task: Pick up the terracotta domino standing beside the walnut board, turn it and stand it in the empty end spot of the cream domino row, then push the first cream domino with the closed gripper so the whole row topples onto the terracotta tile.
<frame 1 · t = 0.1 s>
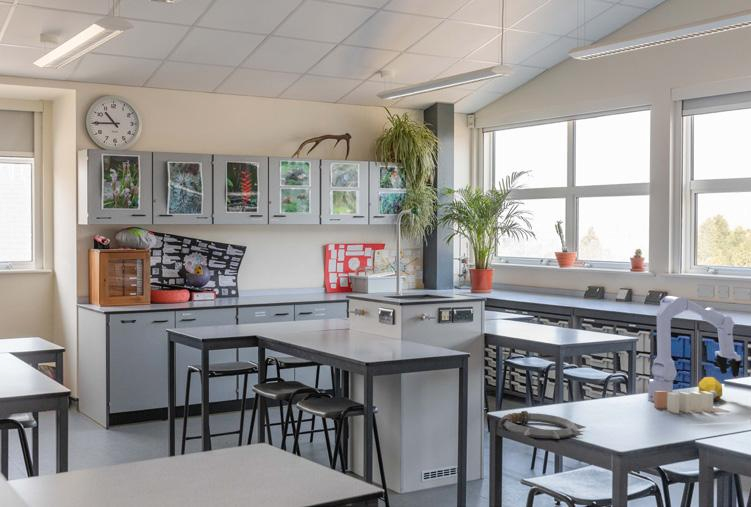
hand: (729, 374, 358), 11 cm above the table, tool pointing down, fingers open, 7 cm apart
domino 4: (706, 410, 330), point 1 cm above the table, touching domino board
domino 2: (684, 411, 328), point 1 cm above the table, touching domino board
domino board: (695, 412, 329), on the table
domino 1: (672, 411, 327), point 1 cm above the table, touching domino board
spiked ring: (542, 432, 291), on the table
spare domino: (661, 408, 335), on the table
domino 3: (695, 410, 329), point 1 cm above the table, touching domino board
yellow elongated lump: (710, 400, 356), on the table
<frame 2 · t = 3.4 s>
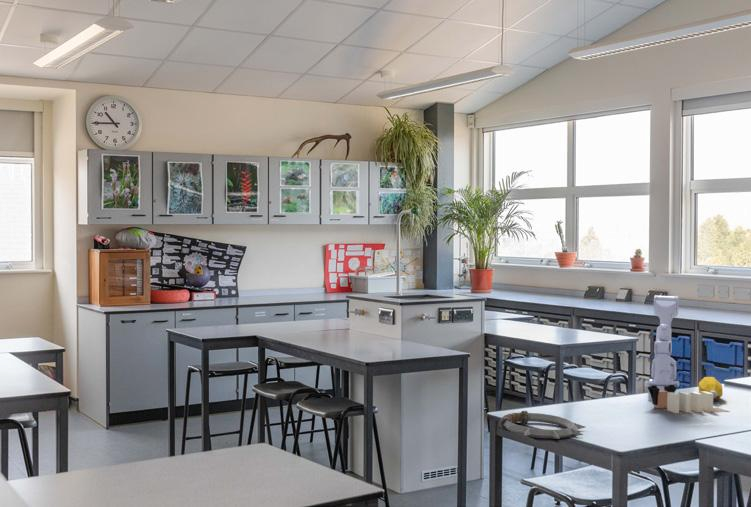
hand: (661, 404, 334), 2 cm above the table, tool pointing down, fingers closed on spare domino, 5 cm apart
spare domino: (661, 408, 335), on the table, touching gripper
everything else where it was.
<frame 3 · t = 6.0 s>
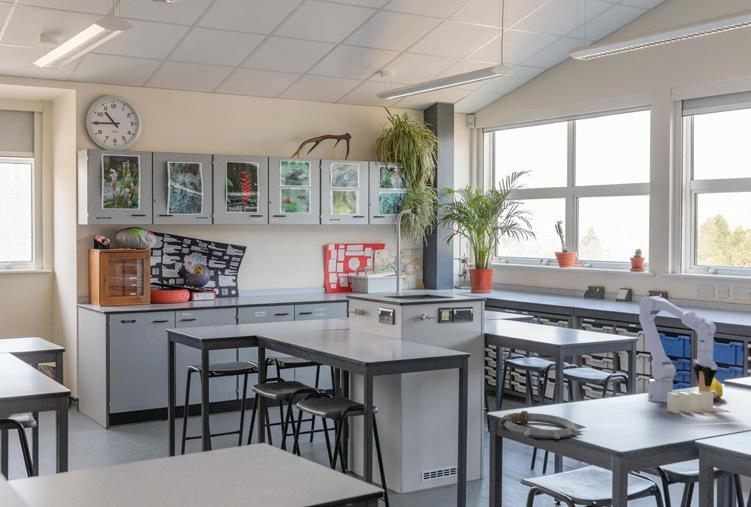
hand: (704, 384, 337), 9 cm above the table, tool pointing down, fingers closed on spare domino, 5 cm apart
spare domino: (704, 389, 337), point 8 cm above the table, touching gripper
everything else where it was.
when the fingers open (3 cm above the table, at t = 8.7 s): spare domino stays where it is, resting on domino board.
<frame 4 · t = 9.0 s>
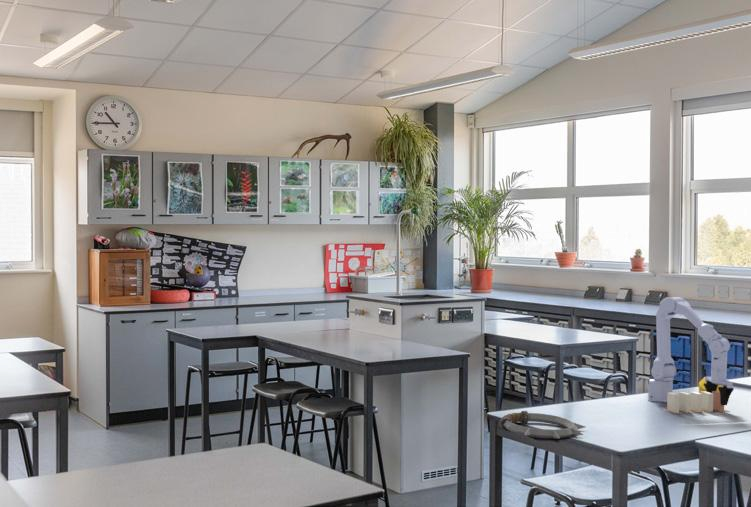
hand: (717, 403, 332), 3 cm above the table, tool pointing down, fingers open, 7 cm apart
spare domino: (717, 409, 332), point 1 cm above the table, touching domino board
everything else where it was.
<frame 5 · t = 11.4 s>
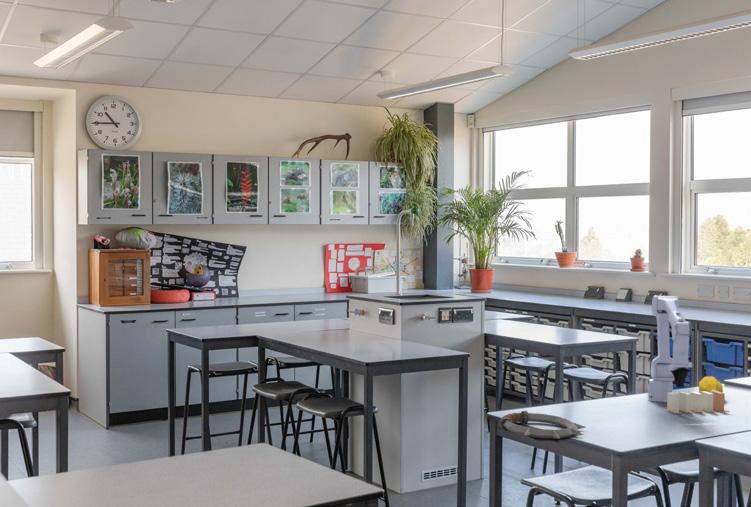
hand: (679, 387, 327), 10 cm above the table, tool pointing down, fingers closed
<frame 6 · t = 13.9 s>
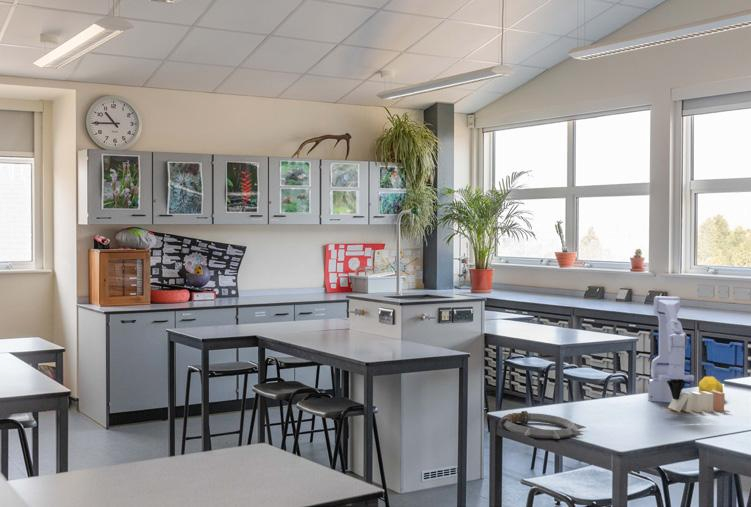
hand: (675, 399, 327), 5 cm above the table, tool pointing down, fingers closed
domino 2: (684, 410, 328), point 1 cm above the table, tilted 9°, touching domino board
domino 1: (673, 409, 327), point 1 cm above the table, tilted 33°, touching domino board
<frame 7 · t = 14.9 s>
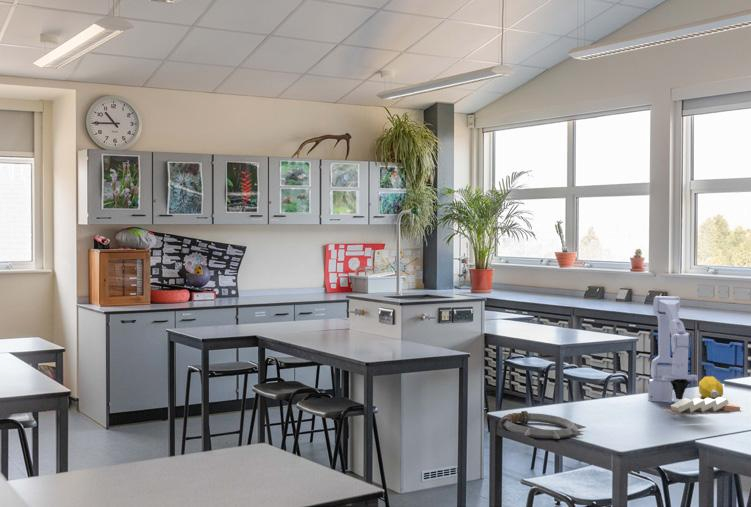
hand: (679, 398, 327), 5 cm above the table, tool pointing down, fingers closed
domino 4: (709, 407, 331), point 2 cm above the table, tilted 65°, touching domino 3, domino board, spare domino
domino 2: (686, 408, 328), point 2 cm above the table, tilted 67°, touching domino 1, domino 3, domino board
domino 1: (675, 409, 327), point 2 cm above the table, tilted 66°, touching domino 2, domino board
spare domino: (720, 406, 332), point 2 cm above the table, tilted 97°, touching domino 4, domino board
domino 3: (697, 408, 329), point 2 cm above the table, tilted 67°, touching domino 2, domino 4, domino board
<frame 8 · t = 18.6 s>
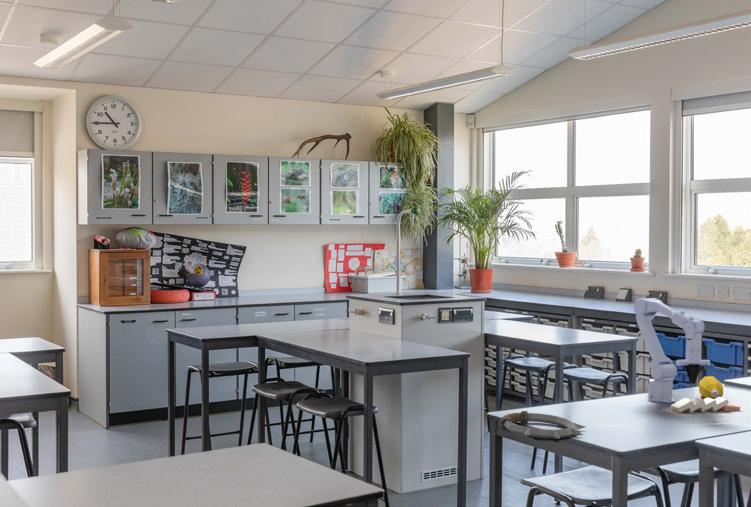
hand: (692, 383, 338), 10 cm above the table, tool pointing down, fingers closed
at the end: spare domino tilted 97°; domino 3 tilted 67°; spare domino inside the target area (0.9 cm from its centre), point 1.8 cm above the table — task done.
